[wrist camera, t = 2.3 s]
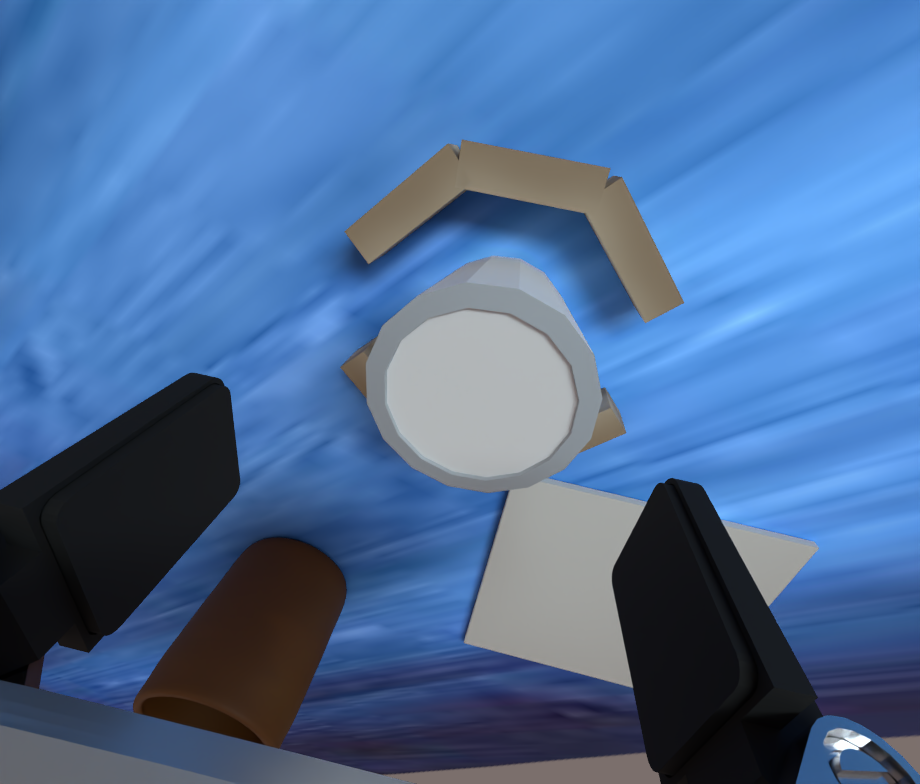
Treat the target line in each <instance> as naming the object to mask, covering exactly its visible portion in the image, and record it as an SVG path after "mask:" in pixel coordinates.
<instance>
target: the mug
mask: <svg viewBox="0 0 920 784" xmlns="http://www.w3.org/2000/svg"><path fill="white" fill-rule="evenodd" d="M346 592H347V589H346V582H345V579H344V576H343V574H342V572H341V571H340V569H339V568H338V566H337V565H336V564H335V563H334V562H333V561H332V560H331V559H330V558H329V557H328V556H327V555H326V554H324V553H323V552H321V551H320V550H318V549H317V548H315V547H313V546H311V545H309V544H306V543H304V542H301V541H298V540H294V539H288V538H279V537H277V538H267V539H263V540H260V541H258V542H256V543H254V544H252V545H251V546H249V547H248V548H247V549H246V550H245V551H244V552H243V553H242V554H241V555H240V557H239V558H238V559H237V560H236V561H235V563H234V564H233V565H232V567H231V568H230V569H229V571H228V572H227V573H226V574H225V576H224V577H223V578H222V580H221V581H220V582H219V584H218V585H217V586H216V587H215V589H214V590H213V591H212V592H211V594H210V595H209V596H208V597H207V599H206V600H205V601H204V603H203V604H202V605H201V607H200V608H199V609H198V611H197V612H196V613H195V615H194V616H193V617H192V618H191V620H190V621H189V622H188V624H187V625H186V626H185V628H184V629H183V630H182V632H181V633H180V634H179V636H178V637H177V638H176V640H175V641H174V642H173V643H172V645H171V646H170V647H169V649H168V650H167V651H166V653H165V654H164V655H163V657H162V658H161V660H160V661H159V663H158V664H157V666H156V667H155V669H154V670H153V672H152V673H151V675H150V677H149V678H148V680H147V681H146V683H145V684H144V685H143V687H142V688H141V690H140V691H139V693H138V694H137V696H136V698H135V700H134V703H133V710H134V713H138V714H142V715H146V716H150V717H154V718H158V719H162V720H166V721H170V722H174V723H178V724H182V725H186V726H190V727H194V728H198V729H202V730H206V731H210V732H214V733H218V734H222V735H226V736H230V737H234V738H238V739H242V740H246V741H250V742H254V743H258V744H262V745H266V746H270V747H274V748H278V749H279V748H280V746H281V744H282V742H283V740H284V738H285V736H286V734H287V733H288V731H289V729H290V727H291V725H292V723H293V721H294V719H295V717H296V715H297V713H298V711H299V708H300V706H301V704H302V701H303V699H304V697H305V695H306V692H307V690H308V688H309V685H310V683H311V681H312V679H313V676H314V674H315V672H316V669H317V667H318V665H319V663H320V660H321V658H322V656H323V653H324V651H325V649H326V646H327V644H328V641H329V639H330V636H331V634H332V632H333V629H334V627H335V625H336V623H337V620H338V618H339V616H340V613H341V611H342V608H343V606H344V603H345V599H346Z"/></svg>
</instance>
